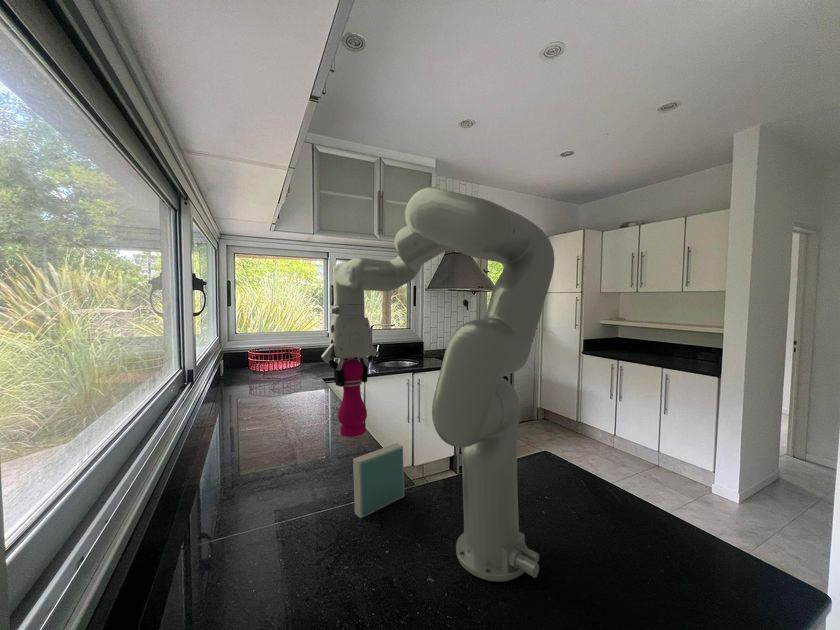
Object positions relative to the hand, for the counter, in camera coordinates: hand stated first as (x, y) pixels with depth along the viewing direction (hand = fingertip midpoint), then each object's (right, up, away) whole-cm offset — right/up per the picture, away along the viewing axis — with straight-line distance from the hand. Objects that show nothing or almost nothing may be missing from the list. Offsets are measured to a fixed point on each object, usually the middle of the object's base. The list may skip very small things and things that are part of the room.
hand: (351, 383), depth 84 cm
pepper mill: (0, -13, 0) cm, 13 cm away
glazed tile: (+8, -26, -8) cm, 29 cm away
